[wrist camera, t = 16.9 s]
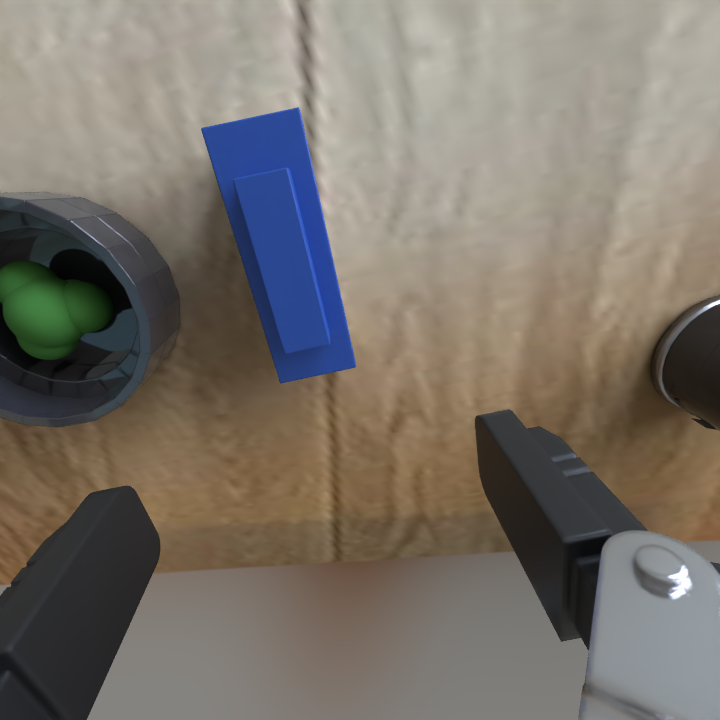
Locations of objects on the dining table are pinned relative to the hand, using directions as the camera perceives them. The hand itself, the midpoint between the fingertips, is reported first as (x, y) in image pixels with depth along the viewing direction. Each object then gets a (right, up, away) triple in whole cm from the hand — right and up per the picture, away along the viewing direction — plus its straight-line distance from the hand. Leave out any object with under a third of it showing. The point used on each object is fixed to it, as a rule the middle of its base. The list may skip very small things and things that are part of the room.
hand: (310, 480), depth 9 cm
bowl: (-17, +7, +16) cm, 24 cm away
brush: (-3, +10, +16) cm, 19 cm away
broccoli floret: (-17, +7, +16) cm, 24 cm away
